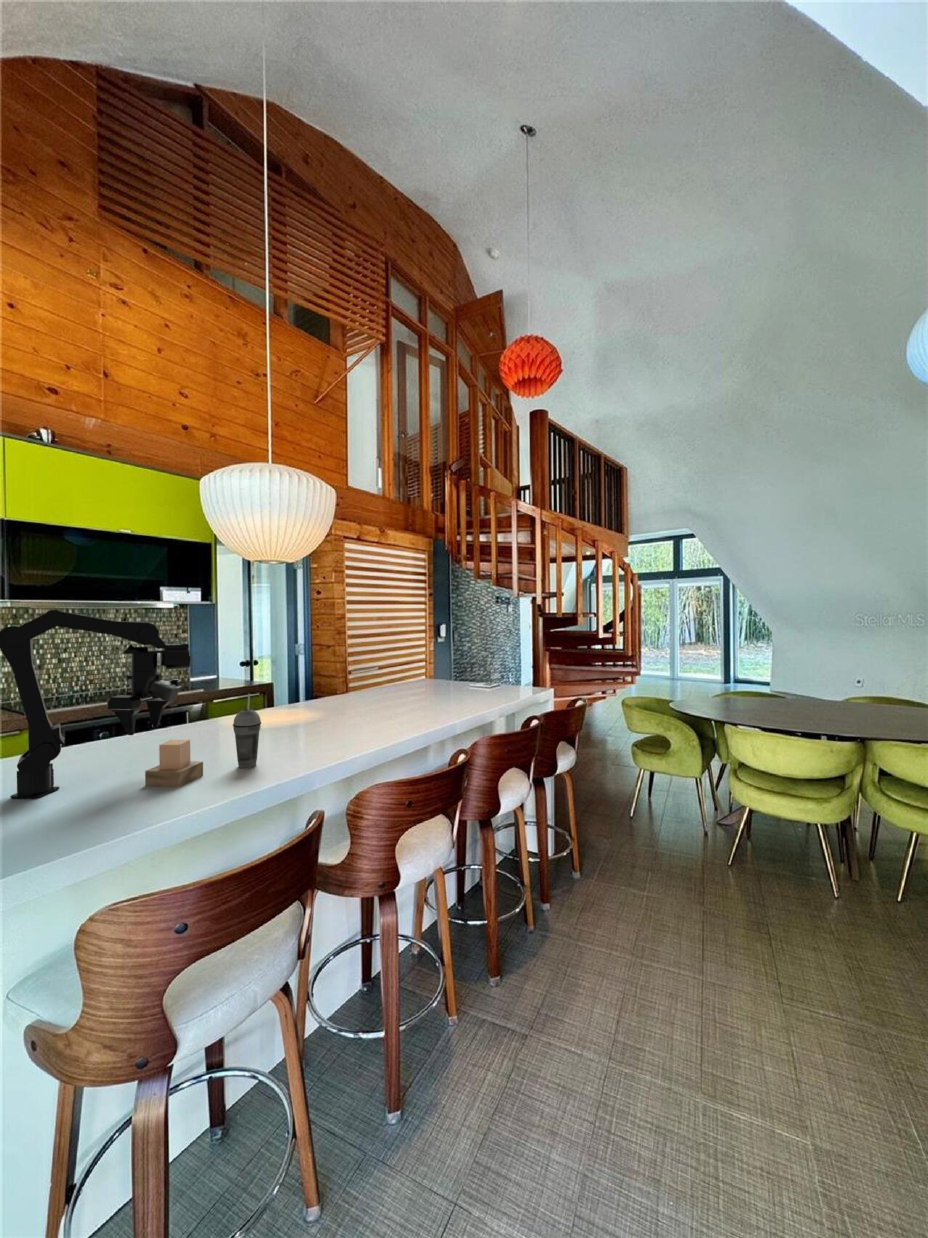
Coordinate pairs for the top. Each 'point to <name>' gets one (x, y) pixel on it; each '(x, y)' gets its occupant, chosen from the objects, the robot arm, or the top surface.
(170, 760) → the terracotta cube
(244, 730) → the beverage cup
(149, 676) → the robot arm
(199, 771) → the walnut box
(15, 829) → the top surface
